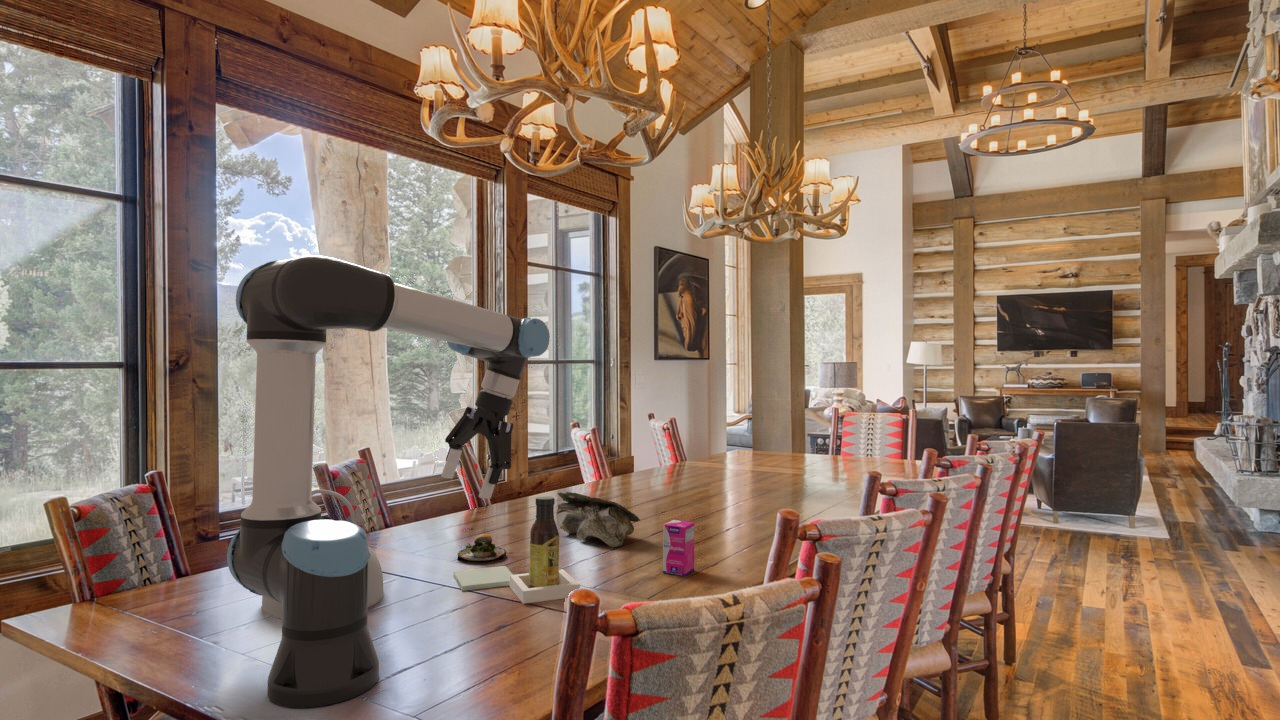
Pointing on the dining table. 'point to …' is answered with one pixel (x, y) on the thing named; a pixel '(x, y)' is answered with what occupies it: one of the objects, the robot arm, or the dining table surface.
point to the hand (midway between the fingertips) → (465, 487)
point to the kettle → (374, 570)
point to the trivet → (483, 578)
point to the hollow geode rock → (595, 518)
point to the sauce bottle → (544, 546)
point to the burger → (482, 550)
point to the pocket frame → (542, 588)
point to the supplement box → (678, 547)
